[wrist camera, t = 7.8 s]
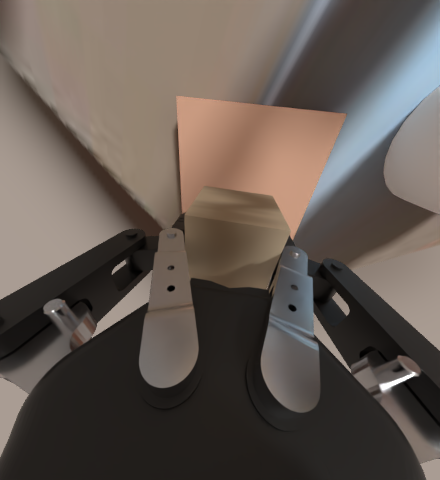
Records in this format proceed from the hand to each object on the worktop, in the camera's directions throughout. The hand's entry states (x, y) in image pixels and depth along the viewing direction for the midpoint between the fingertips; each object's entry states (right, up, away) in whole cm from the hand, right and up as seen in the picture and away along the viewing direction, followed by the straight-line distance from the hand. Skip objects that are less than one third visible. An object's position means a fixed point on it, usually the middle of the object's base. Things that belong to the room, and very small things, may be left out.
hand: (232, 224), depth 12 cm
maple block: (0, 0, 0) cm, 0 cm away
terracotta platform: (+3, +9, +15) cm, 18 cm away
